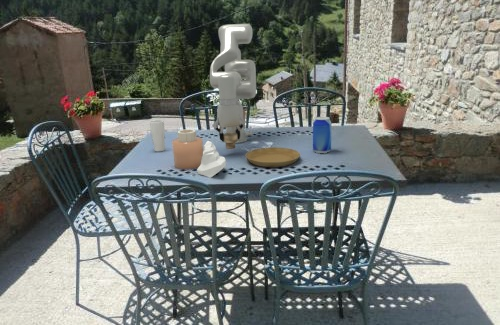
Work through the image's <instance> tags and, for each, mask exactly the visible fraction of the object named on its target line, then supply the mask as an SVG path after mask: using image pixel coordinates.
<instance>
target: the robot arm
mask: <svg viewBox="0 0 500 325" xmlns="http://www.w3.org/2000/svg"><path fill="white" fill-rule="evenodd" d="M218 38H219V41H220V50H219V51H220V53H219V54H218V55H217V56H216V57H215V58H214V59H213V60H212V63H211V64H210V68H209V69H210V70H209V84H210V87H212V88H214V89H218V95H219V96H218V97H219V104H218V105H217V113H216V114H217V115H216V121H214V122H213V124H212V125H211V127H213V129H214V130H216V131H217V132H218V135H219V139H220V141H221V142H222V143H225V142H224V133H229V132H233V133H237V137H238V141H237V142H235V144H239V143H241V144H242V143H245V142H247V141H248V137H251V136H253V135H254V132H253V131H250V132H249V131H245V124H246V123H247V122H246V120H245V119H244V107H243V105H242V103H241V102H240V100H242V99H244V100H247V99H253V98H255V97H256V94H257V73H256V72H257V71H256V69H257V68H256V64H255V61H253V60H252V59H242V52H241V49H240V48H239V45H244V44H245V45H248V44H250V43H251V42H252V39H253V28H252V25H251V24H250V23H236V24H233V23H232V24H231V23H229V24H223V25H221V26H220V27H218ZM222 67H224V71H218V70H219V69H220V68H222ZM224 130H225V132H224Z"/></svg>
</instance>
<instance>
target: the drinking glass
mask: <svg viewBox="0 0 500 325" xmlns="http://www.w3.org/2000/svg"><path fill="white" fill-rule="evenodd" d="M149 128H150V134H151V138H152V144H153V150H154V151H155V152H157V153H158V152H161V153H162V152H164V151H166V141H165V139H166V138H165V137H166V136H165V135H166V134H165V132H166V131H165V122H164V119H153V120H149Z"/></svg>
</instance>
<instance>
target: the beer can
mask: <svg viewBox="0 0 500 325" xmlns="http://www.w3.org/2000/svg"><path fill="white" fill-rule="evenodd" d="M332 125H333V124H332V121H331V119H330V117H328V116H316V117H314V120H313V122H312V150H313V151H314V153H315V152H316V154H320V153H324V154H328V153H327V152H329V153H330V151H331V150H332Z"/></svg>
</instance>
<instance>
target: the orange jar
mask: <svg viewBox="0 0 500 325" xmlns="http://www.w3.org/2000/svg"><path fill="white" fill-rule="evenodd" d="M171 144H172V154H173V155H172V156H173V164H174V167H175V168H176V169H179V170H180V169H181V170H191V169H196V168H197V169H198V168H199V166H200V165H201V160H202V156H203V151H204V149H203V148H204V145H203V138H202V137H199V136H197V131H196V130H195V129H192V128H190V129H189V128H188V129H181V130H178V131H177V138H175V139H173V140H172V141H171Z"/></svg>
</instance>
